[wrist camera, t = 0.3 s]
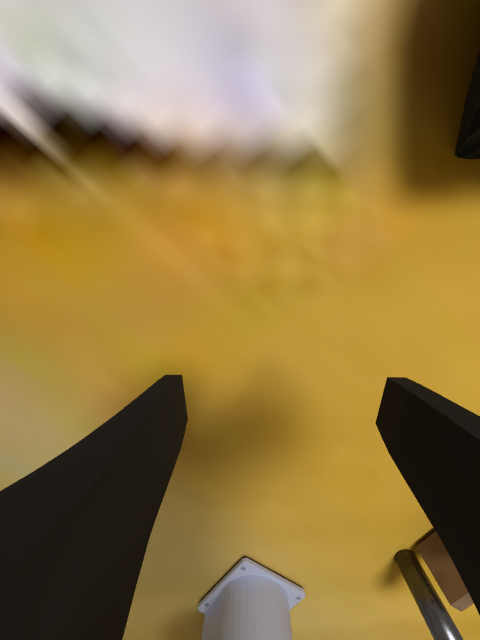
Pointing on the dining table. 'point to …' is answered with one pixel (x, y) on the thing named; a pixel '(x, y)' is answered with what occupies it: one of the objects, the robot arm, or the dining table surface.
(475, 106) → the dark rectangular container
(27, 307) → the dining table surface
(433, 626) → the gate posts
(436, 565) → the brown wooden block
